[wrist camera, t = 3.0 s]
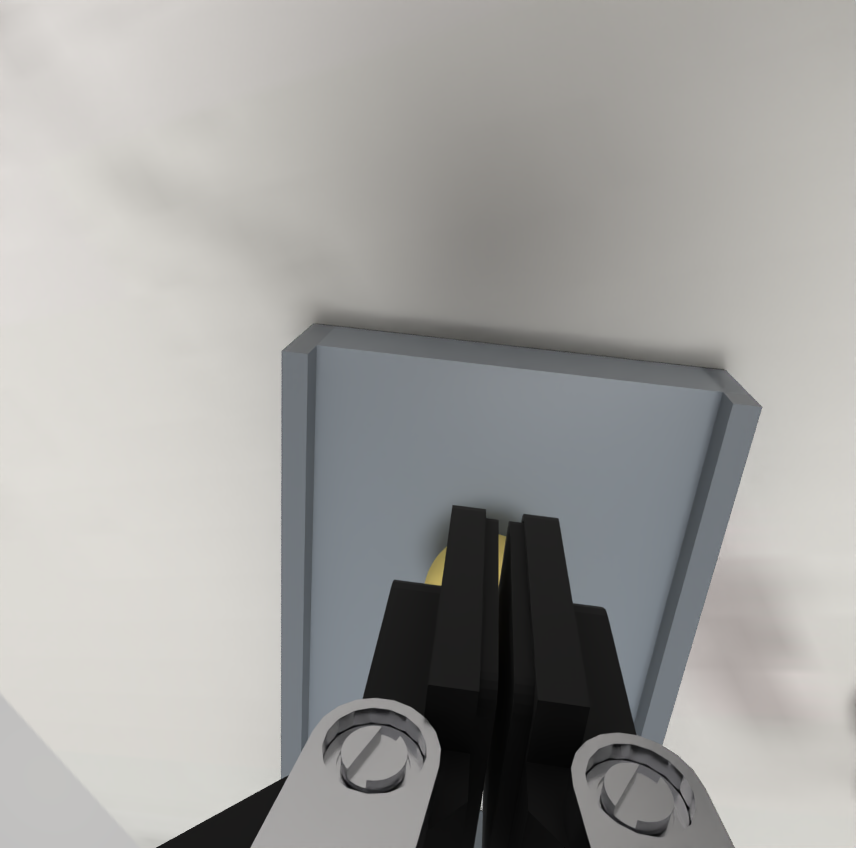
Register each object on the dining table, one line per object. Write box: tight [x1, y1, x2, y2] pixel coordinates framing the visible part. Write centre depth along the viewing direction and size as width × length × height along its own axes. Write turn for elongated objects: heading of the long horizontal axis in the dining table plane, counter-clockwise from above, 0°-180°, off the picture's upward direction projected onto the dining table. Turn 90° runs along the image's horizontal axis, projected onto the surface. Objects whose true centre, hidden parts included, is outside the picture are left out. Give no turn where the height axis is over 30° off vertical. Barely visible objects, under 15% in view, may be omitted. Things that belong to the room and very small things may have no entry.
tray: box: [281, 324, 762, 848], centre depth 26 cm, size 26×14×4 cm, turn 175°
